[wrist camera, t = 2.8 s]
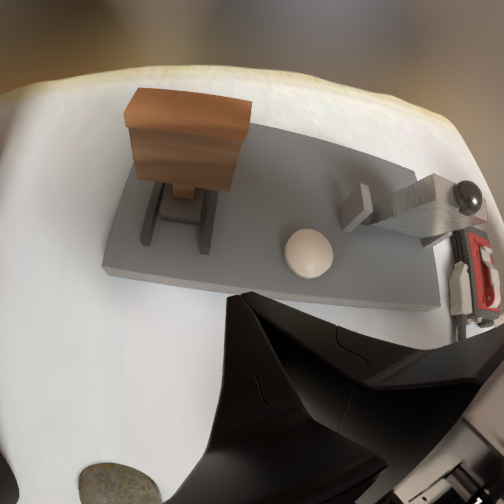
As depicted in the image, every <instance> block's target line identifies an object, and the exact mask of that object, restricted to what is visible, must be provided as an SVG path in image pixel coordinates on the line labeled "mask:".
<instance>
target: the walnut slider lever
mask: <svg viewBox="0 0 504 504" xmlns="http://www.w3.org/2000/svg"><path fill="white" fill-rule="evenodd" d="M251 108H252V102H251V101H246V100H241V99H235V98H229V97H223V96H217V95H210V94H203V93H195V92H187V91H177V90H166V89H153V88H138V89H137V91H136V92H135V94H134V96H133V97H132V99H131V101H130V103H129V104H128V106H127V108H126V110H125V111H124V119H125V125H126V127H128V128H129V134H130V140H131V146H132V152H133V158H134V163H135V169H136V174H137V179H138V180H146V181H154V182H162V183H167V185H166V189H165V193H164V196H163V200H162V204H161V208H160V218H161V220H166V221H173V222H179V223H186V224H193V225H199V223H200V217H201V212H202V206H203V201H204V195H205V190H206V189H211V190H217V191H224V192H229V191H230V187H231V183H232V179H233V176H234V172H235V168H236V165H237V161H238V157H239V154H240V150H241V146H242V143H243V142H245V140H246V137H247V133H248V130H249V124H250V116H251Z"/></svg>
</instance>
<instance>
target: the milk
mask: <svg viewBox="0 0 504 504" xmlns="http://www.w3.org/2000/svg"><path fill="white" fill-rule="evenodd" d="M494 323H495V327H497V326H499V325H501V324H503V323H504V313H502V314H501V315H500V316H499V319H496V320H494Z"/></svg>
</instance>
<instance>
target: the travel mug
mask: <svg viewBox="0 0 504 504" xmlns="http://www.w3.org/2000/svg"><path fill="white" fill-rule="evenodd" d="M18 499H19V489H18V485H17V482H16V479H15V477H14V475H13V473H12V471H11V469H10V468H9V466H8V465H7V463H6V462H5V460H4V459H3V458H2V456H1V455H0V504H16V503H17V502H18Z"/></svg>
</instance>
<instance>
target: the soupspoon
mask: <svg viewBox="0 0 504 504" xmlns="http://www.w3.org/2000/svg"><path fill="white" fill-rule="evenodd" d="M78 489H79V496H80V501H81V503H82V504H162V502H161V499H160V495H159V493H158V490H157V488H156V486H155V485H154V484H153V483H152V482H151V480H150V479H149V478H148V477H146V475H145V474H144V473H142V472H140V471H138V470H136V469H134V468H131V467H128V466H124V465H120V464H114V463H101V464H95V465H92V466H89V467H87V468H86V469H84V470H83V471H82V473H81V476H80V479H79V486H78Z"/></svg>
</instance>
